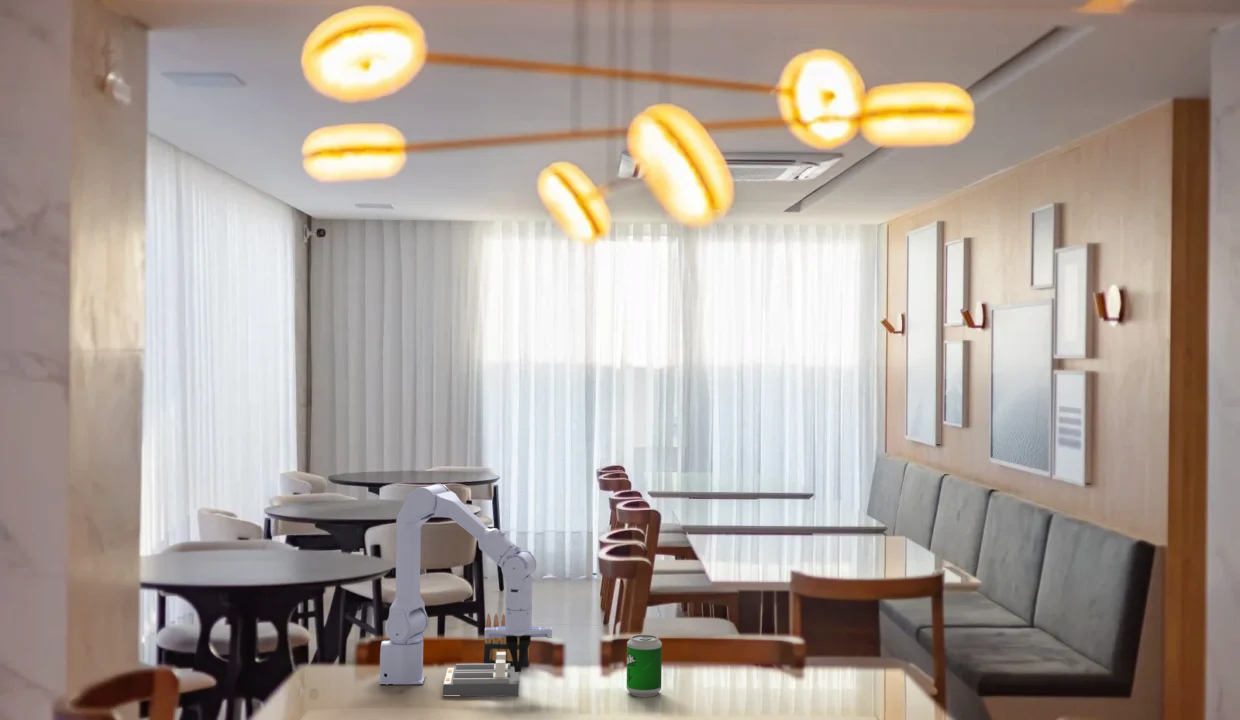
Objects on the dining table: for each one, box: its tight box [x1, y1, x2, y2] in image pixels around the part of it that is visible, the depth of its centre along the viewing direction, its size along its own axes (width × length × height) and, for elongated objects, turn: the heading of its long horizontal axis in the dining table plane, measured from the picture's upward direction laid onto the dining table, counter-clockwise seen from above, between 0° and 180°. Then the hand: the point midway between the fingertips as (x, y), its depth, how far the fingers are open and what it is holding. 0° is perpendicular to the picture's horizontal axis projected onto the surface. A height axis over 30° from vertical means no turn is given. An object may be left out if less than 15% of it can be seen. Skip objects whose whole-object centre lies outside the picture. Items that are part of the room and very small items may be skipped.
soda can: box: [626, 634, 663, 698], centre depth 258 cm, size 8×8×12 cm
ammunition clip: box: [482, 613, 531, 668], centre depth 281 cm, size 11×2×12 cm, turn 86°
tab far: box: [494, 651, 508, 669], centre depth 265 cm, size 3×4×4 cm
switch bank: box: [442, 663, 520, 697], centre depth 261 cm, size 16×14×4 cm
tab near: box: [493, 660, 507, 678], centre depth 258 cm, size 3×4×4 cm
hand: (517, 670), depth 258 cm, fingers closed
